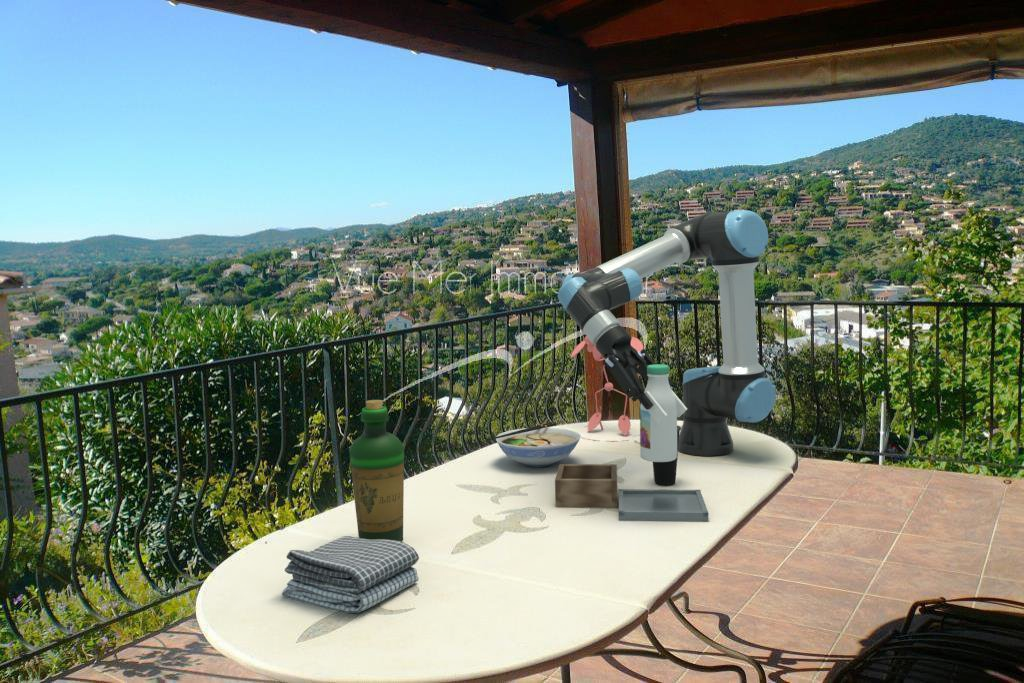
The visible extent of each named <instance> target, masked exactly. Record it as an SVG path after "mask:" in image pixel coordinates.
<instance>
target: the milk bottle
mask: <svg viewBox="0 0 1024 683" xmlns="http://www.w3.org/2000/svg"><path fill="white" fill-rule="evenodd" d="M647 376H648V381H647V384H646V386H645V388H644V390H645V392H646V391H649V392H650V394H651V395H652V396H653V397H654V399H655V400H656V401H657V402H658V404H659V405H660V406H661V407H662V409H663V410H664V411H665V412H666V414H667V416H666V417H665V418H664V419H663V420H662V421H661V422H660V423H659V424H657V422H656V421H655V420H654V419H653V417H652V416H651V415H650V413H649V412H648V411H647V410H646V408H645V407H644V406H643V405H642V404H641V403H640V405H639V406H640V408H639V412H640V413H639V431H640V432H639V440H640V441H639V443H640V444H639V449H640V450H639V451H640V458H641V459H642V460H644V461H646V462H651V463H653V462H669V461H673V460H675V459H676V458H677V459H678V457H677V425H678V417H677V406H676V400H675V397H674V394H673V392H674V391H673V389H672V387H671V384H670V385H669V381H668V377H670V366H669V365H667V364H658V363H656V364H655V365H648V366H647ZM671 389H672V390H671ZM672 391H673V392H672ZM645 392H644V393H645Z"/></svg>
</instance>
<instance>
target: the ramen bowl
mask: <svg viewBox="0 0 1024 683" xmlns="http://www.w3.org/2000/svg"><path fill="white" fill-rule="evenodd" d="M555 426H557V422H552V421H549V422H545V423H542V424H537V425H534V426H531V427H526V428H525V427H524V428H518V429H512V430H507V431H505V432H500V433H499V434H497V435H496V436H495V437H491V438H486V439H485V441H491V440H495V441H496V442H497V444H498V446H499V448H500V450H501V451H502V452H503V454H504V455H505V456H507V457H508V458H510V459H511V460H513V461H516V462H518V463H521V464H524V465H525V466H528V467H533V468H534V467H535V468H541V467H547V466H551V465H553V464H554V463H557V462H559V461H561V460H563V459H565V458H567V457H568V456H569V455H570V454H571V453H572V451H573V450H574V449H575V448H576V447H577V445H578V443H579V441H580V439H581V434H580V433H579V432H577V431H574V430H571V429H566V428H560V427H559V428H557V427H555Z"/></svg>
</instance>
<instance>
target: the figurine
mask: <svg viewBox="0 0 1024 683" xmlns="http://www.w3.org/2000/svg"><path fill="white" fill-rule="evenodd" d="M585 345H587V348H586V350H587V352H588V353H592V356H593V359H594V360H595V361H596V362H602V361H605V360H606V359H605V358H604V357H603V356H602V355H601V354H600V352H599V351H598V350H597V349H596V345H594V344H593V343H592V342H591V341H590V340H589V339H588V337H587V335H585V337H584V340H583V341H581V342H580V343H579V344H577V346H576V347H575V348H574V349H573V351H572V353H571V355H570V359H573V358H574V357H575V356H577V355H578V354H579V353H580V352H581V351H582V350H583V348H584V347H585ZM631 346H632V347H633V348H635V349H636V350H637V351H639V352H640V351H641V350H642V349H644V344H643V342H642V341H641V340H640V339H638V338H637V337H635V336H631ZM605 367H606V366H605V365H604V364H603V366H602V370H603V373H604V376H605V380H606V382H605V384H604V387H603V388H601V389H599V390H597V391H595V393H594V396H595V398H594V399H595V408H596V410H595V411H596V412H595V413H594V414H593V415H591V417H590V419H589V420H588V424H587V426H585V428H586V427H587V433H590V432H592V431H593V430H594V429H596V428H597V427H598V426H599V425H600V429H601V430H602V431H604V426H603V423H602V421H601V420H602V412H601V411H599V410H598V409H599V408H598V399H597V397H598V396H597V393H600V392H601V391H603V390H605V391H606V392H611V391H615V392H617V393H620V394H622V395H624V396H625V403H624V410H623V414H622V415H620V416H619V418H618V422H617V426H618V429H619V431H620V432H621V433H622V434H623V435H624V437H626V436H627V434H629V433H630V429H631V425H632V422H631V420H630V418H629V417H628V415H626V410H627V403H628V397H627V395H626V394H625V392H621V391H619V390H618V389H616V388H614V384H613V383H612V382H609V380H608V375H607V372H606V371H607V370H606V369H605ZM580 439H584V440H587V441H588V440H589V441H593V442H599V440H598V439H597V440H596V439H591V438H590V439H589V438H586V437H580ZM625 441H626V442H628V441H630V440H629V439H625V440H623V442H625ZM609 442H610V443H614V442H616V443H617V440H607V443H609Z"/></svg>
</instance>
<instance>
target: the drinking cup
mask: <svg viewBox="0 0 1024 683" xmlns="http://www.w3.org/2000/svg"><path fill="white" fill-rule="evenodd" d="M681 428H682V426H680V425H679V424H677V458H676V459H675V460H673V461H669V462H652V469H653V470H652V471H653V479H654V484H655V485H656V486H658V487H672V486H675V485H676V479H677V466H678V457H679V456H678V453H679V451H678V445H679V434H680V431H681Z"/></svg>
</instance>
